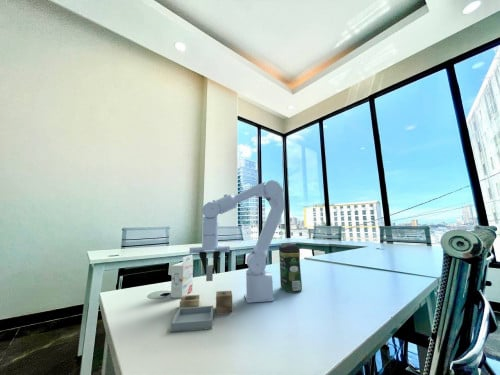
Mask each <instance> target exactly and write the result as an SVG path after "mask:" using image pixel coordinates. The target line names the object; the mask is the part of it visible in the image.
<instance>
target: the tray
mask: <svg viewBox="0 0 500 375" xmlns="http://www.w3.org/2000/svg"><path fill="white" fill-rule="evenodd" d="M213 318H214V305H204V306H199V307H188V308H180V307H179V308H178V310H177V312H176V314H175V316H174V318H173V320H172V322H171V327H170V329H171V330H170V332H171V333H179V332H187V331H188V332H189V331H199V330H210V329H211V330H212V329H213V322H214V321H213V320H214V319H213Z"/></svg>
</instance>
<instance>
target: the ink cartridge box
mask: <svg viewBox="0 0 500 375" xmlns="http://www.w3.org/2000/svg"><path fill="white" fill-rule="evenodd" d="M193 258H194V256H193V254H190V255H186V256H183V257H182V261H181V262H179V263H178V262H177V263H175V264H172V265H171V281H170V282H171V283H170V284H171V285H170V289H171V290H170V298H173V299H175V298H176V299H177V298H178V299H181V298H182V296H188V295H190V293H192V292H193V282H194V281H193V275H194V274H193V273H194V272H193V271H194V259H193Z"/></svg>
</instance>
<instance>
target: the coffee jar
mask: <svg viewBox="0 0 500 375" xmlns="http://www.w3.org/2000/svg"><path fill="white" fill-rule="evenodd" d="M278 251H279V252H278V256H279V274H280V287H281V289H282V290H283V291H284V292H287V293H288V292H289V293H299V292H300V291H301V292H302V290H303V281H302V272H301V260H300V257H301V252H300V247H299V245H297V244H294V243H290V242H285V243H284V242H282V243H281V244H280V245H279V246H278Z"/></svg>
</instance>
